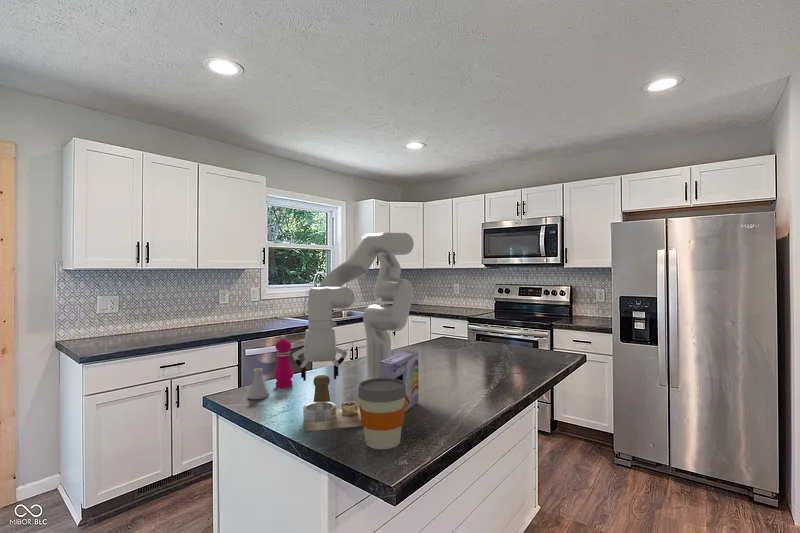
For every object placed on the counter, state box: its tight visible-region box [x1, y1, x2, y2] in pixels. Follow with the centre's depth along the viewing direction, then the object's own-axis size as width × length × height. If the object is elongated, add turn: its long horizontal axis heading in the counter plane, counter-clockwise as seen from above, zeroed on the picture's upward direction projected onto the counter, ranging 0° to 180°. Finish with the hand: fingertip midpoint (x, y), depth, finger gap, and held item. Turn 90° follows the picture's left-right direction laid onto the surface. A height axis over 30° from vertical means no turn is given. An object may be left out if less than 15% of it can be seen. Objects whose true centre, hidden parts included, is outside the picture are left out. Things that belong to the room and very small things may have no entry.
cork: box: [313, 374, 331, 402], centre depth 131 cm, size 6×6×11 cm
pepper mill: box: [273, 334, 294, 389], centre depth 159 cm, size 7×7×20 cm
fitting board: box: [302, 407, 363, 433], centre depth 120 cm, size 18×10×2 cm, turn 102°
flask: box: [247, 367, 270, 400], centre depth 145 cm, size 7×7×10 cm
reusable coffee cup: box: [357, 378, 406, 450], centre depth 105 cm, size 13×13×15 cm
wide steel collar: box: [302, 401, 337, 423], centre depth 119 cm, size 9×9×3 cm
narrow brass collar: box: [341, 400, 359, 417], centre depth 121 cm, size 5×5×3 cm
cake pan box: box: [380, 349, 419, 413], centre depth 128 cm, size 19×5×18 cm, turn 151°
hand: (319, 379), depth 130 cm, fingers open, 9 cm apart
